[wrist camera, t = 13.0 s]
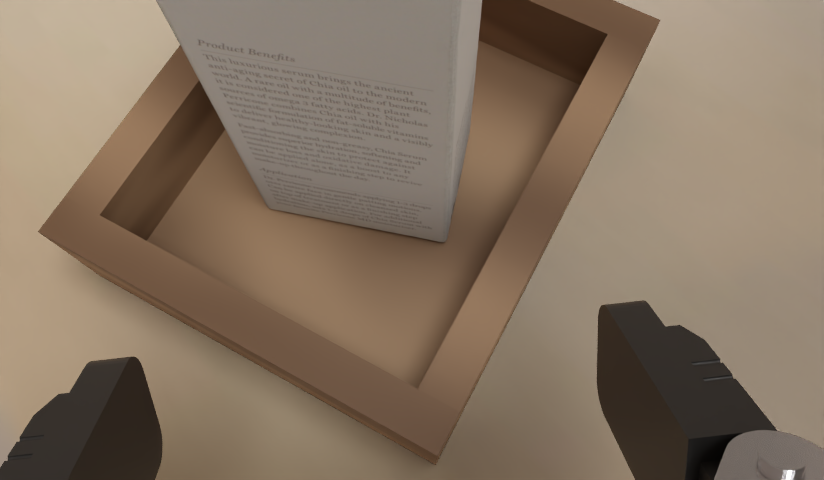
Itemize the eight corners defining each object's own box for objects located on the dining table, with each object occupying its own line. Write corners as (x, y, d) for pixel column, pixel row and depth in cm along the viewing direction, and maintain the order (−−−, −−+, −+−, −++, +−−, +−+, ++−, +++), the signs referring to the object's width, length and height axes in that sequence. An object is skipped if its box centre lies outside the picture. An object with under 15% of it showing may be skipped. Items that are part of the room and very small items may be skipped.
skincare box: (471, 129, 24) (512, -199, 13) (446, 247, 23) (467, -5, 12) (296, 96, 25) (188, -245, 13) (260, 210, 23) (106, -65, 12)
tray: (325, -41, 28) (310, -126, 24) (626, 90, 26) (660, 20, 22) (99, 274, 24) (37, 231, 20) (435, 464, 22) (437, 456, 18)
